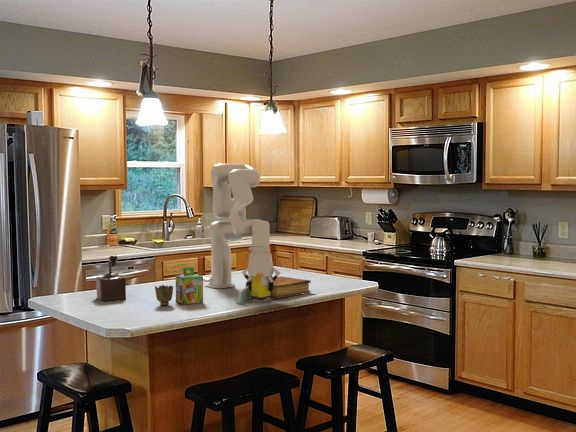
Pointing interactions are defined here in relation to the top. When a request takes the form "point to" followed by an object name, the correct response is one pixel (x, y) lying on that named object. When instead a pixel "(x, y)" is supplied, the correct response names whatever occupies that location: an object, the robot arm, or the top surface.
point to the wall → (243, 295)
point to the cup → (164, 294)
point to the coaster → (260, 300)
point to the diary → (288, 287)
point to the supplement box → (260, 286)
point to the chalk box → (189, 287)
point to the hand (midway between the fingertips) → (260, 290)
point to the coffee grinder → (111, 284)
